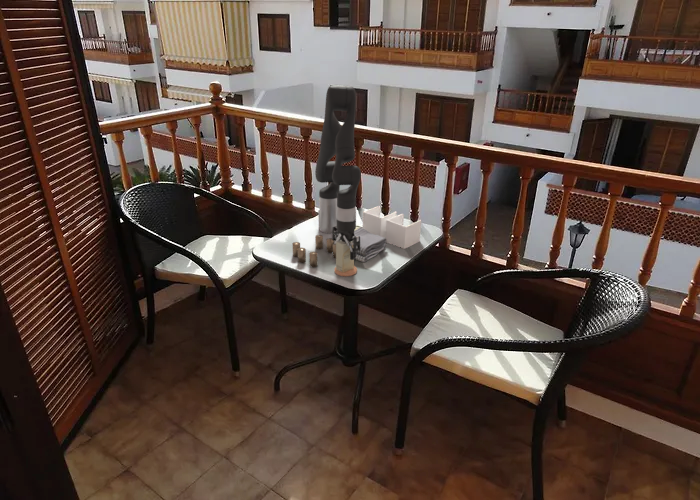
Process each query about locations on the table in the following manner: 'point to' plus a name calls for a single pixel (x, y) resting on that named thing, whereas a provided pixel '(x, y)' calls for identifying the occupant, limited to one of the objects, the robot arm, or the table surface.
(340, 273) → the tan oval piece
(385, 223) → the storage container
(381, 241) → the towel
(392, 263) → the table surface
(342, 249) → the skincare box
